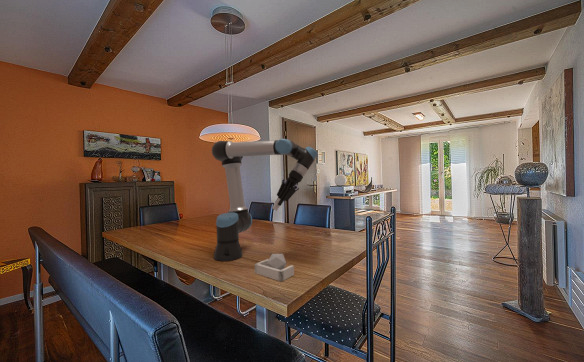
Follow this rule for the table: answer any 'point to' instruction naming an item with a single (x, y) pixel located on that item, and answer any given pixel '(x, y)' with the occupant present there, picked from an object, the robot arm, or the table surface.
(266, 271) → the grey u-shaped bracket
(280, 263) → the die
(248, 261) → the table surface
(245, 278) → the table surface
